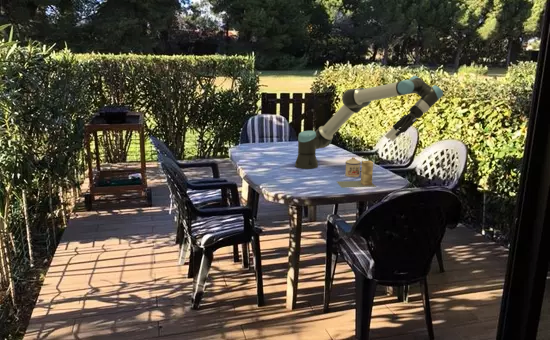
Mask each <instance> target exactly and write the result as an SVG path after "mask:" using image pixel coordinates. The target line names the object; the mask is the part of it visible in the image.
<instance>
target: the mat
mask: <svg viewBox="0 0 550 340" xmlns="http://www.w3.org/2000/svg"><path fill="white" fill-rule="evenodd" d="M336 183H337V184H338V186H340V187H341V188H342V189H345V188H377V185H375V183H373V182H372V185H363V184H362V183H361V180H346V181H345V180H343V181H342V180H341V181H340V180H339V181H336Z"/></svg>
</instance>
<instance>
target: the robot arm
mask: <svg viewBox="0 0 550 340" xmlns="http://www.w3.org/2000/svg"><path fill="white" fill-rule="evenodd" d="M410 94H411V95H412V94H416V95H418V97H420V98H419V99H418V100H417V101H416V102H415V103H414V104H413V105H412V106H411V107H410V108H409V109H408V110H409V113H407V114H404V115H402V117H401V118H400V119H399V120H397V121H396V122H395V123H394V124H393V125H392V128H391V129H390V130H389V131H388V132H387V133H386V134H385V135H384V137H385V138H386V139H387V140H389V139H390V140H391V142H394V141H395V140H396V139H397V138H398V137H399V136H400V135H401V134H403V133H406V132H407V131H408V130H409V129H410V128H411V127H412V126H413V124H414V123H416V122H417V121H418V119H420V118H421V117H423V115H424V114H425V113H427V112H429V110H430V108H432V106H434V105H435V104H436V103H437V102H438V101H439V100H440V99H441V98H442V97H443V96H444V91H443V89H441V88H440V87H439V86H437V85H433V86H430V85H429V84H428V83H427V82H425V81H424V80H422V78H420V77H419V76H417V75H413V76H411V77H410V78H409V79H404V80H400V81H396V82H392V83H387V84H383V85H382V84H381V85H378V86H377V85H376V86H373V87H367V88H364V87H360V88H349V89H347V90H346V91H344V92H343V94H342V96H341V100H342V101H341V102H342V104H343V105H341V107H340V108H339V109H338V110H337V111H336V112H335V113H334V115H333V116H332V117H330V119H329V120H327V122H326V123H325V124H324V125H321V126H319V127H318V129H316V130H315V131H314V130H304V131H301V132H299V133H298V137H297V140H298V143H297V157H296V161H295V163H294V164H295V168H298V169H307V170H309V169H316V168H318V165H319V164H318V163H319V162H318V159H317V156H316V150H319V149H324V148H326V147H328V146H330V145H331V143H332V140H333V138H334V134H336V132H337V131H338V130H339V129H341V127H342V126H344V124H345V123H346V122H348V120H349V119H350V118H351V117H352V116H353V115H354V114H358V113H359V112H360V111H361V110H362V109H363V108H366V107H368V106H369V105H370V104H371V102H374V101H377V100H378V101H379V100H382V99H388V98H394V97H399V96H405V95H410Z"/></svg>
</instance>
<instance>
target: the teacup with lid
mask: <svg viewBox="0 0 550 340" xmlns="http://www.w3.org/2000/svg"><path fill="white" fill-rule="evenodd" d="M361 167H362V163H361V161H360V160H357V159H356V157H352V156H351V158H350V159H347V160H346V161H345V177H349V178H358V177H361Z"/></svg>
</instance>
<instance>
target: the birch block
mask: <svg viewBox="0 0 550 340" xmlns="http://www.w3.org/2000/svg"><path fill="white" fill-rule="evenodd" d="M361 164H362V166H361V168H360V171H361V172H360V181H361V183H362V184H363V185H372V183H373V173H374V172H373V171H374V162H373V161H372V160H361Z"/></svg>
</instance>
